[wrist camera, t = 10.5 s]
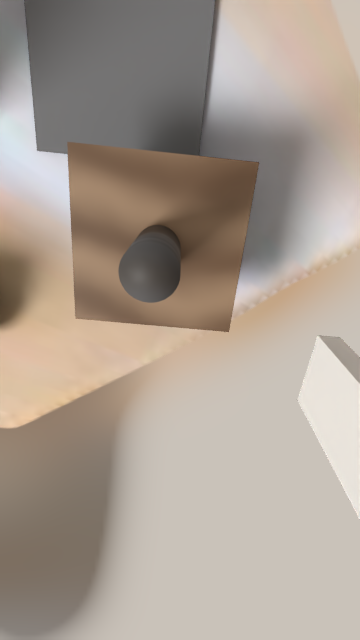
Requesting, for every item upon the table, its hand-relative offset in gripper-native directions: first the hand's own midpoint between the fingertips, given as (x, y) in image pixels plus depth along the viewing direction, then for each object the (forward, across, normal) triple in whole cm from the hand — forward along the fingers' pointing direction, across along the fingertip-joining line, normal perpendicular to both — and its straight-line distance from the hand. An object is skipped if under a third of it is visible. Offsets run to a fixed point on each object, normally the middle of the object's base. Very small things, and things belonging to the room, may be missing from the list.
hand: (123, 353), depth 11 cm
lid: (+19, 0, 0) cm, 19 cm away
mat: (+26, -5, +15) cm, 31 cm away
